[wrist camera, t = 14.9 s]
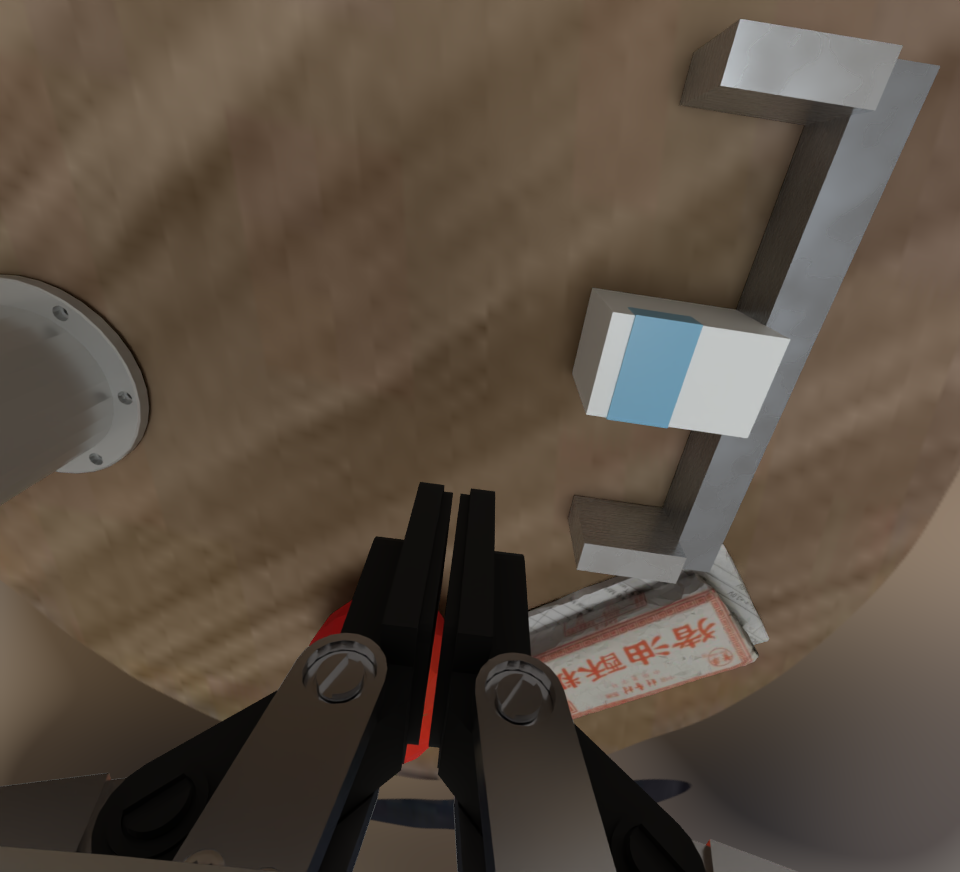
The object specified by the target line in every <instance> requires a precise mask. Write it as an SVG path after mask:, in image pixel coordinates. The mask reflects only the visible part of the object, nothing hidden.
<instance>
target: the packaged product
mask: <svg viewBox="0 0 960 872" xmlns="http://www.w3.org/2000/svg"><path fill="white" fill-rule="evenodd" d="M528 617H529V632H530V646H531V656H532V657H534V658H537V659H539V660H540V661H542V662H543V663H544V664H546V665H547V666H549V667H550V668H551V669H552V671H553V672H554V673H555V674H556V675H557V677H558V678H559V680H560V682H561V684H562V687H563V689H564V691H565V695H566V698H567V702H568V705H569V709H570V712H571V716H572V719H575V718H578V717H581V716H584V715H588V714H589V713H594V712H598V711H601V710H603V709H606V708H610V707H613V706H617V705H620V704H623V703H626V702H629V701H634V700H637V699H640V698H642V697H645V696H649V695H653V694H656V693H658V692H661V691H664V690H668V689H671V688H673V687H677V686H680V685H683V684H684V683H688V682H692V681H695V680H698V679H700V678H704V677H708V676H712V675H715V674H718V673H720V672H724V671H728V670H732V669H735V668H737V667H739V666H745V665H747V664H749V663H752V662H754V661H755V660H756V658H757V657H758V656H759V654H758V652H757V650H756V648H755V647H754V645H755V644H758V643H763V642H766V641H768V640H769V637H768V635H767V632H766V630H765V628H764V625H763V623H762V621H761V619H760V617H759V615H758V613H757V611H756V609H755V608H754V606H753V604H752V601H751V599H750V597H749V594H748V592H747V590H746V587H745V585H744V583H743V581H742V579H741V577H740V575H739V573H738V571H737V569H736V567H735V564H734V562H733V560H732V558H731V557H730V555H729V553H728V552H727V550H726V548H725V547H724V545H723V544H722V546H721V548H720V550H719V552H718V555H717V557H716V559H715V561H714V563H713V566H712V568H711V570H710V572H703V571H696V570H689V569H682V570H681V573H680V575H679V577H678V580H677V582H676V584H674V583H667V582H660V581H653V580H646V579H639V578H632V577H625V576H617V577H614V578H611V579H609V580H606V581H604V582H601V583H598V584H595V585H592V586H589V587H586V588H583V589H581V590H578V591H577V592H573V593H571V594H569V595H567V596H565V597H563V598H561V599H559V600H556V601H554V602H551V603H548V604H546V605H543V606H541V607H539V608H536V609H534V610H532V611H529V612H528Z"/></svg>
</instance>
